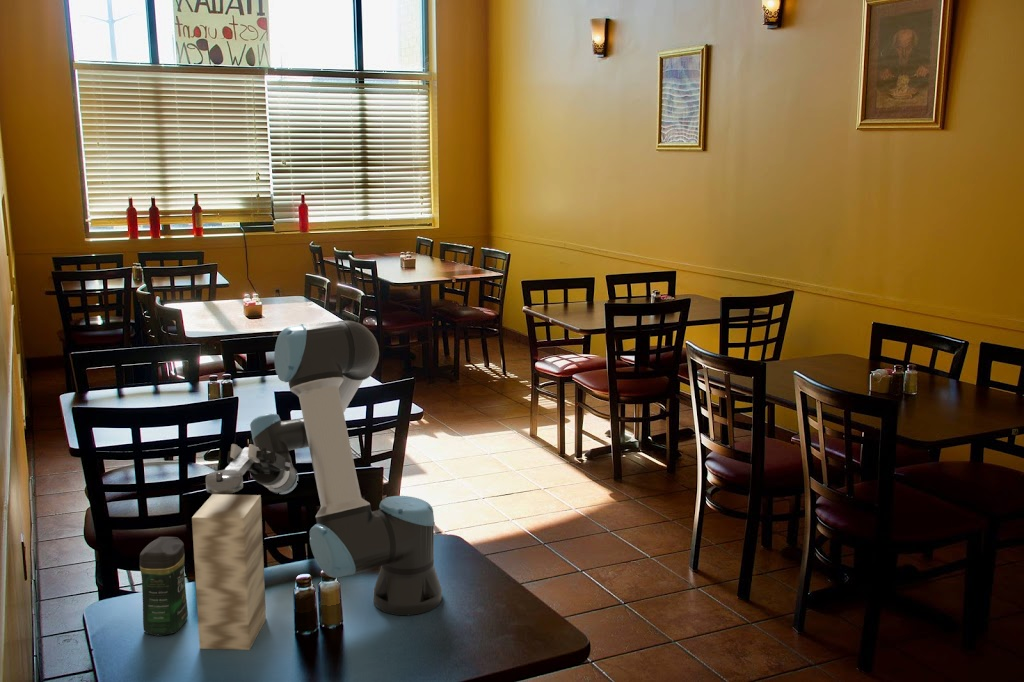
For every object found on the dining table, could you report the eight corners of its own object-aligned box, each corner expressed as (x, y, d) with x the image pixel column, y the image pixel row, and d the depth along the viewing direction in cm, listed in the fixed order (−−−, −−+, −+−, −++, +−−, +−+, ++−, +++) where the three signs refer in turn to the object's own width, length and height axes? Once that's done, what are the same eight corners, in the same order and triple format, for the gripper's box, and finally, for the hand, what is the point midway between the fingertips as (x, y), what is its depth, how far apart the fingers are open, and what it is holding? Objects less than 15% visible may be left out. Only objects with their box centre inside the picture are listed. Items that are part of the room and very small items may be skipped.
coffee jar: (177, 637, 185) (172, 553, 182) (138, 637, 185) (132, 552, 181) (193, 613, 195) (188, 533, 191) (156, 613, 195) (150, 532, 191)
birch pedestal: (266, 619, 193) (260, 495, 187) (249, 649, 181) (243, 518, 176) (219, 618, 193) (212, 494, 187) (199, 648, 181) (191, 517, 176)
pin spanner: (236, 455, 199) (235, 437, 198) (268, 456, 199) (267, 438, 198) (201, 494, 177) (200, 474, 176) (237, 494, 177) (236, 474, 176)
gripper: (302, 486, 212) (278, 469, 190) (233, 485, 212) (201, 467, 190) (305, 454, 214) (281, 433, 192) (236, 453, 214) (205, 432, 192)
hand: (241, 450), depth 191 cm, fingers closed on pin spanner, 3 cm apart
